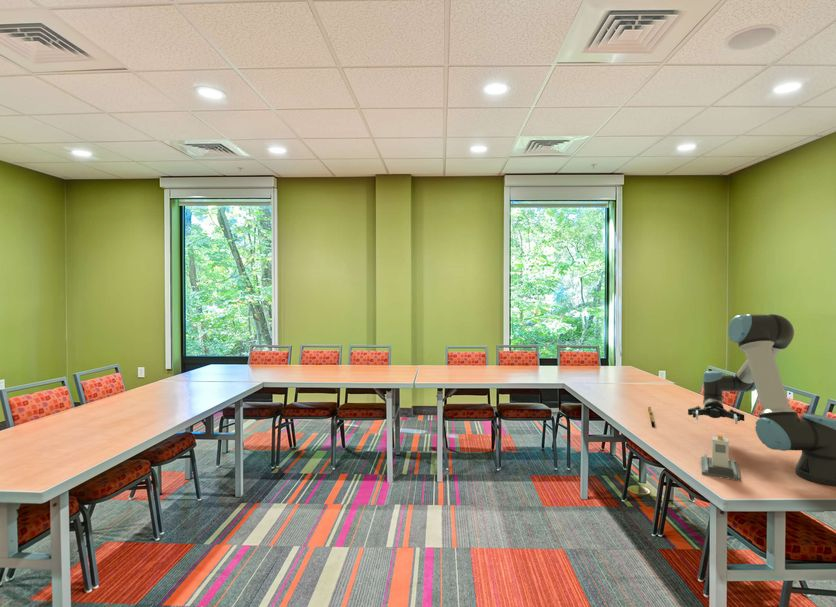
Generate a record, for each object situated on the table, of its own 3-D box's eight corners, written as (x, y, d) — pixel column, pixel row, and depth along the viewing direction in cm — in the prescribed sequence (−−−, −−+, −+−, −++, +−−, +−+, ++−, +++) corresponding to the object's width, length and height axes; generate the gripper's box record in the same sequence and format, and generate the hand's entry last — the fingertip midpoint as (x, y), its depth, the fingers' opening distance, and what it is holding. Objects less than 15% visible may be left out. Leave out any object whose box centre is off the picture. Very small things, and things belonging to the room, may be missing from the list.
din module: (727, 468, 170) (727, 435, 170) (728, 473, 165) (728, 438, 165) (711, 466, 172) (711, 433, 172) (712, 470, 168) (712, 436, 168)
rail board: (736, 464, 178) (736, 455, 178) (740, 481, 162) (740, 471, 162) (701, 458, 184) (701, 450, 184) (701, 474, 168) (701, 465, 168)
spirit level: (648, 411, 260) (648, 406, 260) (650, 412, 259) (650, 406, 259) (651, 427, 229) (651, 421, 229) (654, 427, 229) (654, 421, 229)
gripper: (747, 420, 194) (753, 432, 176) (682, 413, 207) (681, 423, 189) (747, 403, 194) (753, 413, 176) (682, 397, 207) (681, 406, 189)
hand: (716, 418), depth 183 cm, fingers open, 13 cm apart
